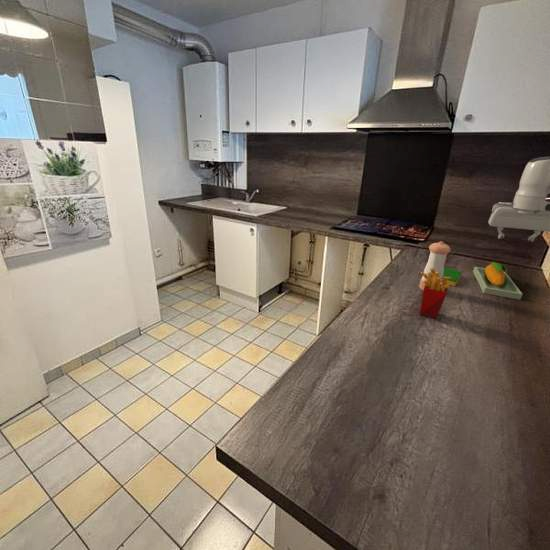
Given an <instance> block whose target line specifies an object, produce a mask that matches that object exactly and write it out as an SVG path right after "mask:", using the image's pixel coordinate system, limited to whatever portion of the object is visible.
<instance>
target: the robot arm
mask: <svg viewBox="0 0 550 550" xmlns="http://www.w3.org/2000/svg"><path fill="white" fill-rule="evenodd" d="M518 184H519V187H518V190H516V192H515V195H514V197H513V200H512V202H503V201H500V202H497V203H494V204H493V205H492V208H491V214H490V216H489V219H488V222H487V223H488V225H489V226H490V227H495V228H496V229H497V232H498V235H497V239H502V240H503V239H505V233H504V232H502V231H503V230H504V228H507V229H518V230H530V231H533V232H534V233H533V234H532V235H528V237H527V239H526V241H527V242H531V243H533V242H534V241H535V238H537V237H538V236H539V235H541V233H542V232H550V201H548V200H546V199H547V196H548V195H549V194H550V156H540V157H535V158H533V159H530V160H529V161H528V162H527V164H526V165H525V168H524V169H523V172H522V174H521V177H520V180H519V183H518Z"/></svg>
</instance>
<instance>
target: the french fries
mask: <svg viewBox="0 0 550 550" xmlns="http://www.w3.org/2000/svg"><path fill="white" fill-rule="evenodd" d="M430 270H431V272H432V274H431V273H428V276H427V274H426V273H424V270H423V271H421V272H420V274H421V276H422V277H423V276H424V277H425V279H426V280H427V281H426V280H424V281H423V282H424V283H425V287H424V291H423V290H422V291H423V292H422V298H421V304H420V311H419V315H421V316H424V317H427V318H432V319H434V320H437V318H438V315H439V314H440V311H441V309H442V305H443V303H444V301H445V299H446V296H447V293H448V289H449V288H450V285H448V284H446V280H448V279H451V276H450V277H443V280H442V281H440V277H439V273H438V272H435V271H434V269H433V268H431V269H430ZM431 279H433V281H431Z"/></svg>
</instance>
